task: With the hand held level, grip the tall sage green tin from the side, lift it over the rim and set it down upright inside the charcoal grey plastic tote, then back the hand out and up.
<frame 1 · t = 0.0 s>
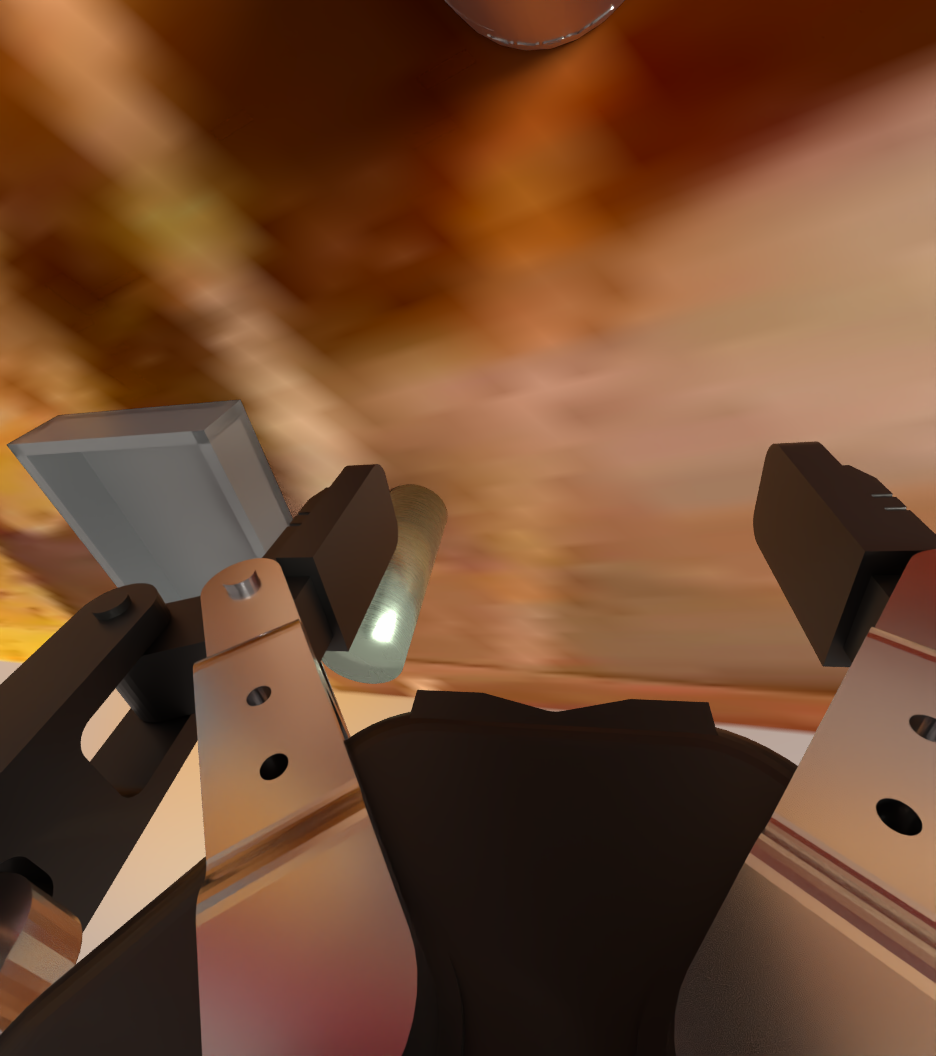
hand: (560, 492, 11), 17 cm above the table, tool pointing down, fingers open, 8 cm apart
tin: (415, 512, 34), on the table
tote: (208, 518, 37), on the table
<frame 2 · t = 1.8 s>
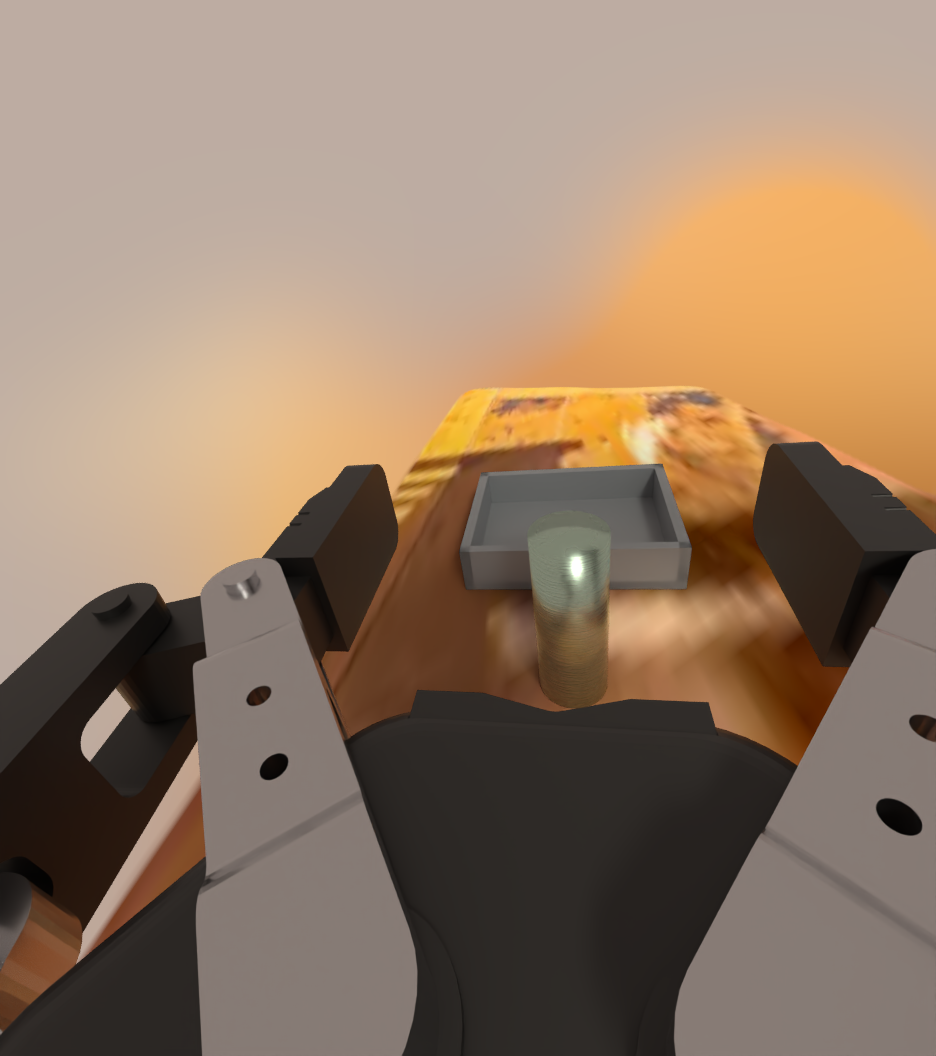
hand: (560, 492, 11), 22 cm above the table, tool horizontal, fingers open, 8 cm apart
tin: (573, 680, 34), on the table
tote: (570, 540, 47), on the table
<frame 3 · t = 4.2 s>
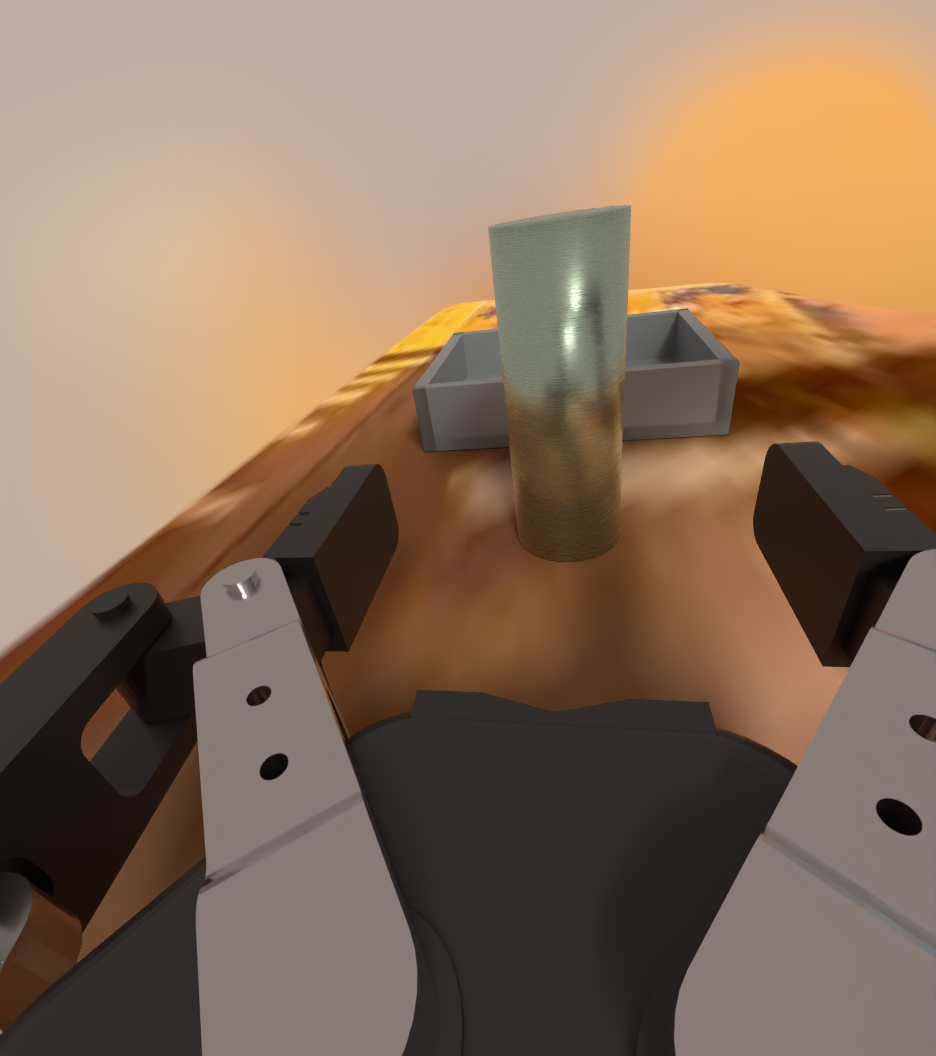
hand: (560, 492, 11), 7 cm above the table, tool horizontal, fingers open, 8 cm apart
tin: (567, 531, 22), on the table
tote: (566, 402, 35), on the table
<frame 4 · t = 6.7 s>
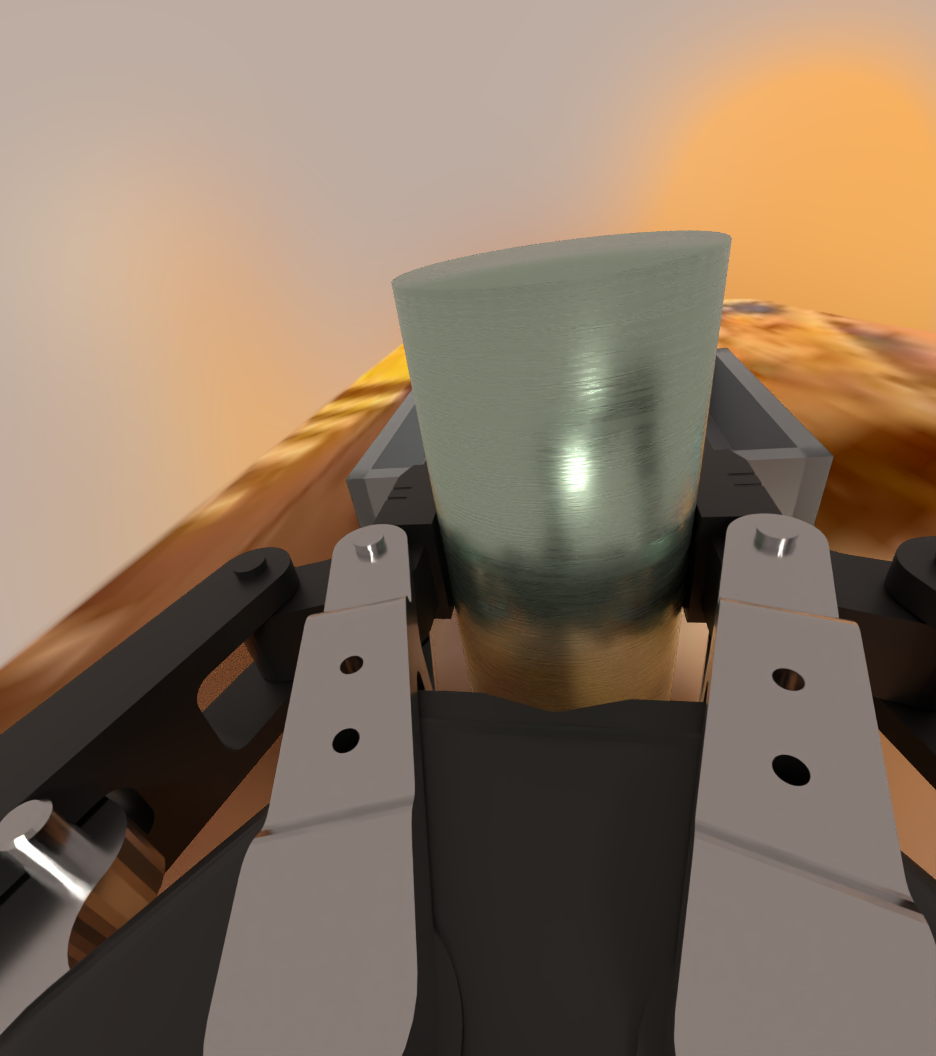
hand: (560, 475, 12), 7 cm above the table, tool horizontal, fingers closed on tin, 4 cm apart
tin: (570, 764, 13), on the table, touching gripper
tote: (568, 477, 26), on the table
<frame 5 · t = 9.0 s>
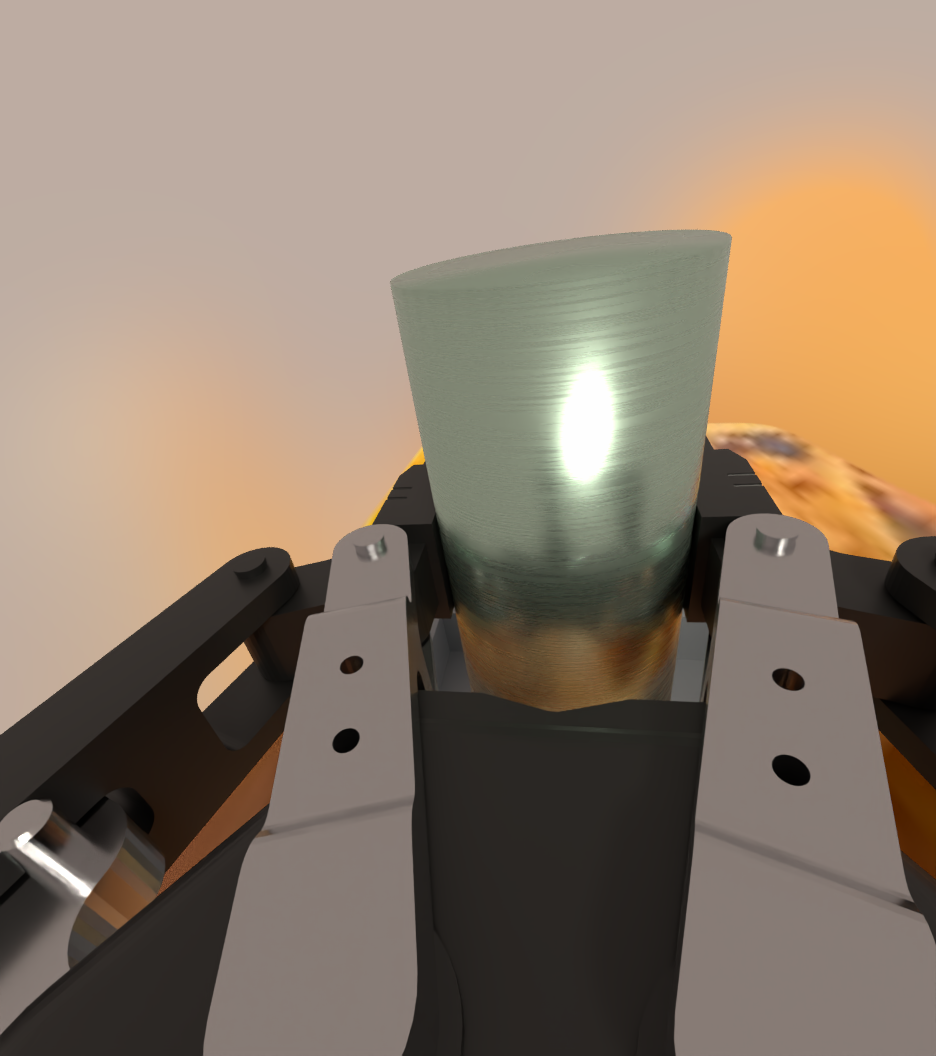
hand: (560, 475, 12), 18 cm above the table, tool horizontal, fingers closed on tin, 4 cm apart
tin: (570, 764, 13), point 11 cm above the table, touching gripper
tote: (586, 761, 25), on the table
when the fingers open (10 cm above the table, at t = 11.5 s): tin drops 2 cm, resting on tote.
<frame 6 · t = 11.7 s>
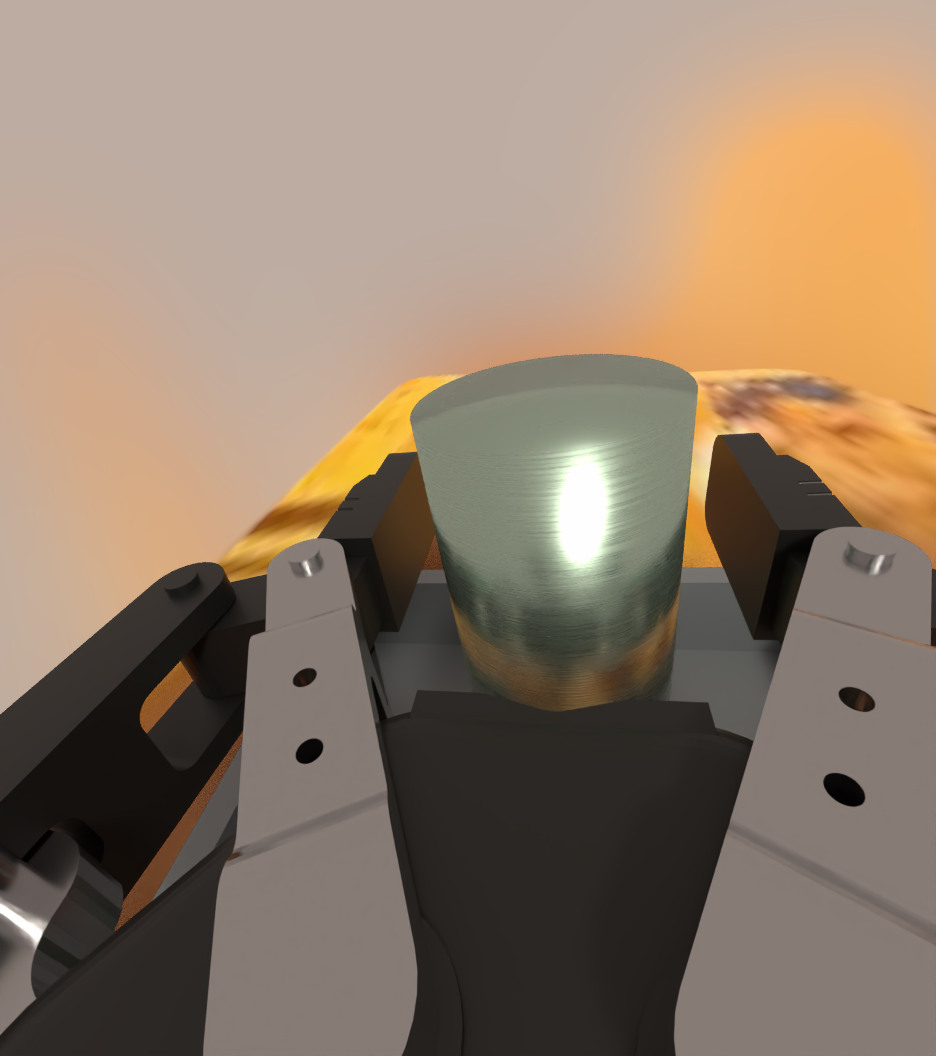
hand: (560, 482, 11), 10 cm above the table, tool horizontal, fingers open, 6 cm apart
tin: (576, 806, 14), point 1 cm above the table, touching tote
tote: (571, 818, 15), on the table
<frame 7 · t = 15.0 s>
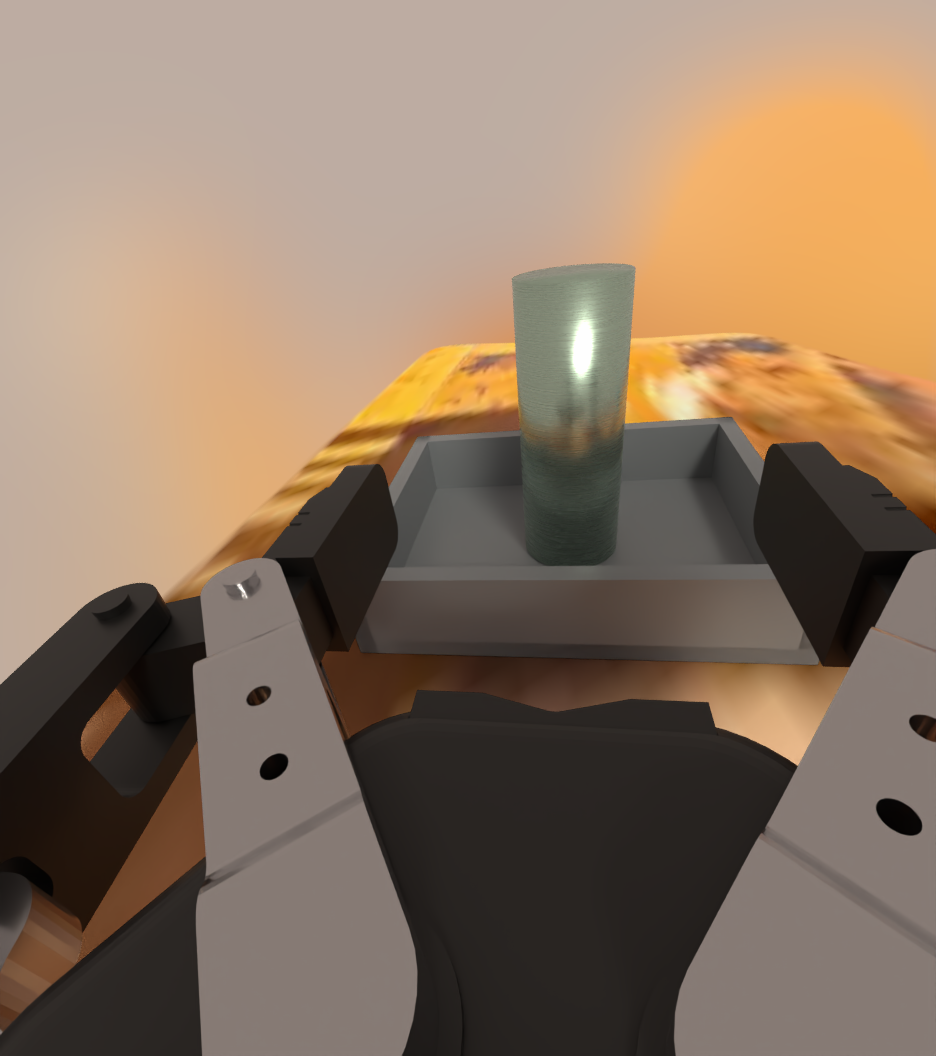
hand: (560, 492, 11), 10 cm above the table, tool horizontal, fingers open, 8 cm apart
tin: (570, 541, 25), point 1 cm above the table, touching tote
tote: (567, 554, 25), on the table
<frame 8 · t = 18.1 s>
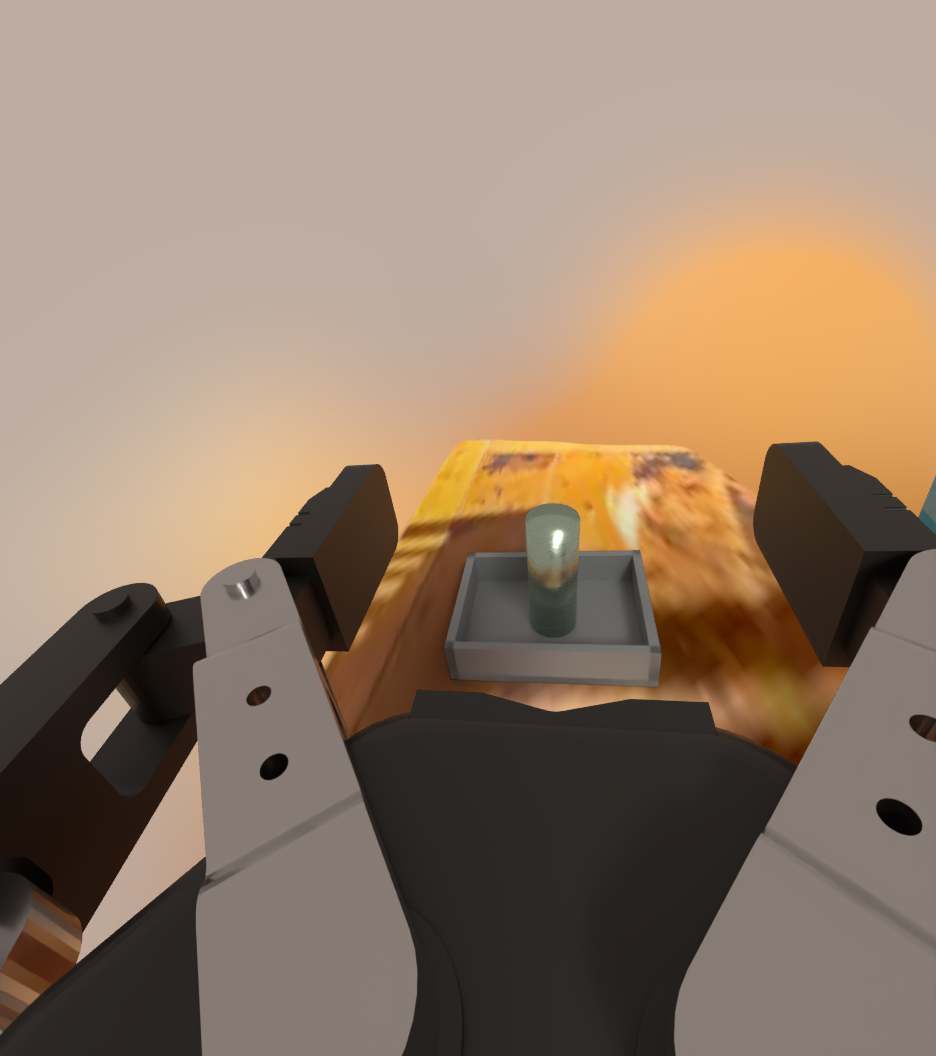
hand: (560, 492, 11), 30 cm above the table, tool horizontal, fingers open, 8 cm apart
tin: (552, 619, 48), point 1 cm above the table, touching tote
tote: (551, 626, 49), on the table
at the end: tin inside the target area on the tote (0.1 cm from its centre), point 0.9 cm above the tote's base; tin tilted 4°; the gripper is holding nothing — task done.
